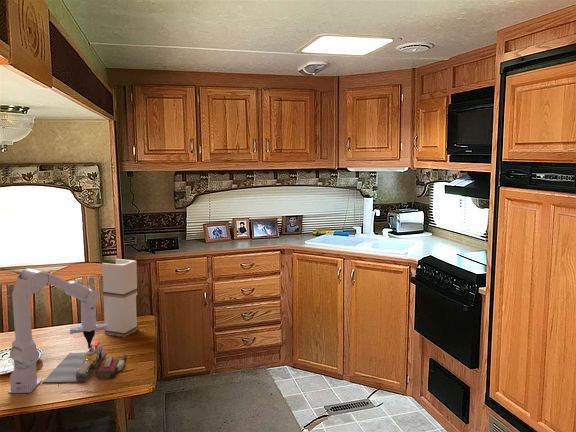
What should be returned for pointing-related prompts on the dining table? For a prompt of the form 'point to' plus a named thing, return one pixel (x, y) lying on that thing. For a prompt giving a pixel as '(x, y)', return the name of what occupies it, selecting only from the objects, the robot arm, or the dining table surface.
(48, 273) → the robot arm
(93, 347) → the valve lever
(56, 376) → the mounting board
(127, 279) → the tall square wastebasket
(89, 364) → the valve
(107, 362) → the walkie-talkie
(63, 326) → the dining table surface
